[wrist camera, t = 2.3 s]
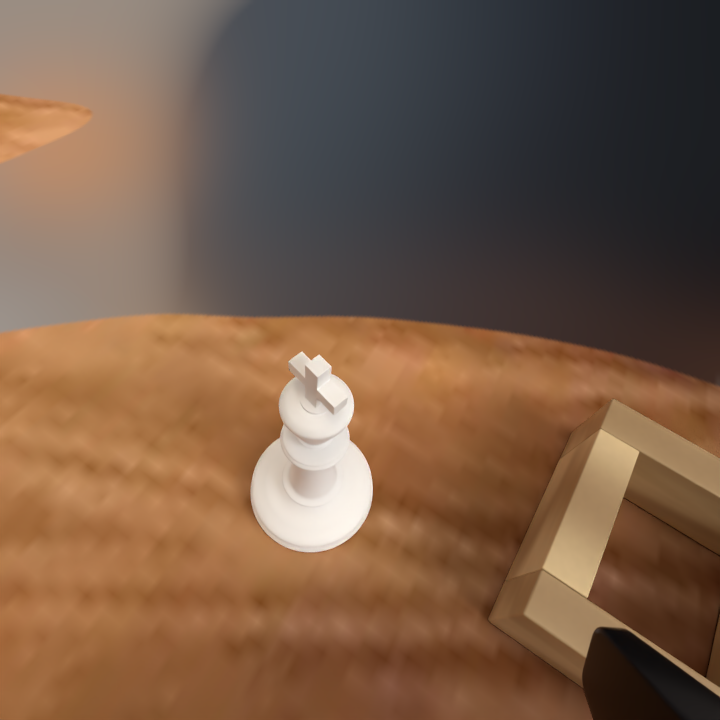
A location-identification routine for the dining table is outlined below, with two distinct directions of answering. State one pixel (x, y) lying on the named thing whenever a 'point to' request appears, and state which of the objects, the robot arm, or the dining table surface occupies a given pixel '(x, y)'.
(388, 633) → the dining table surface
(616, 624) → the rack
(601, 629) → the robot arm
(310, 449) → the chess piece
